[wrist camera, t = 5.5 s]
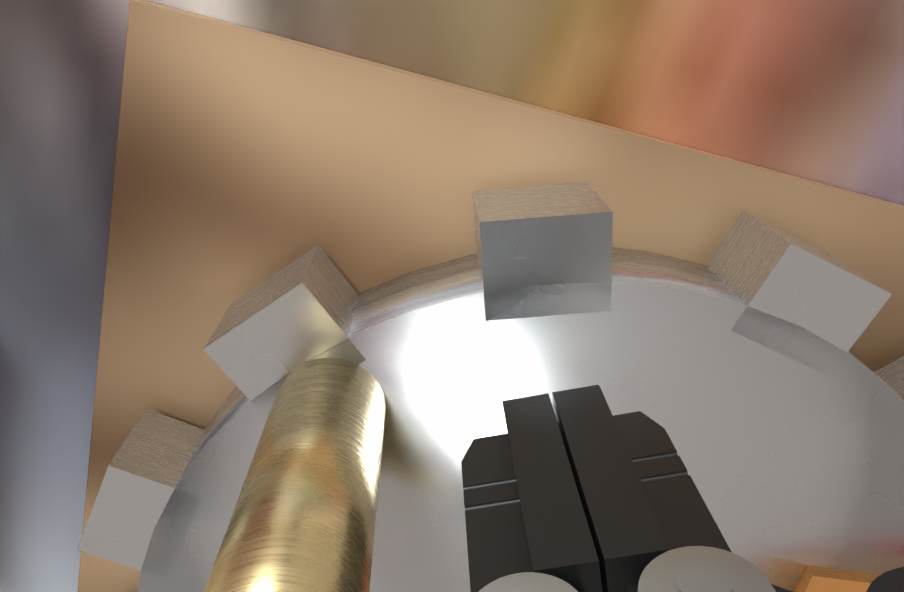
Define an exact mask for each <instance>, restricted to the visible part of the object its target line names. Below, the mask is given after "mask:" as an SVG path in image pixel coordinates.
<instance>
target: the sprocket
mask: <svg viewBox="0 0 904 592" xmlns="http://www.w3.org/2000/svg"><path fill="white" fill-rule="evenodd" d="M472 196H473V212H474V228H475V244H476V254H471V255H468V256H464V257H460V258H457V259H453V260H449V261H445V262H442V263H438V264H434V265H431V266H427V267H423V268H420V269H416V270H413V271H411V272H408V273H406V274H403V275H401V276H398V277H396V278H394V279H391V280H389V281H386V282H384V283H381V284H379V285H377V286H374V287H372V288H369V289H367V290H364V291H362V292H360V293H357V292H356V291H355V290H354V288H353V287H352V286H351V285H350V283H349V282H348V281H347V280H346V278H345V277H344V276H343V275H342V273H341V272H340V271H339V270H338V268H337V267H336V266H335V265H334V263H333V262H332V261H331V260H330V258H329V257H328V256H327V255H326V253H325V252H324V251H323V250H322V248H321V247H320V246H319V245H316V246H315V247H313V248H312V249H310V250H309V251H307V252H306V253H305V254H303V255H302V256H300V257H299V258H297V259H296V260H294V261H293V262H291V263H290V264H288V265H287V266H286V267H284V268H283V269H281V270H280V271H278V272H277V273H275V274H274V275H272V276H271V277H269V278H268V279H266V280H265V281H264V282H262V283H261V284H259V285H258V286H256V287H255V288H253V289H252V290H250V291H249V292H247V293H246V294H245V295H243V296H242V297H240V298H239V299H237V300H236V301H234V302H233V303H231V305H230V306H229V308H228V310H227V311H226V313H225V314H224V316H223V318H222V319H221V321H220V323H219V324H218V326H217V327H216V329H215V331H214V332H213V334H212V336H211V337H210V339H209V340H208V342H207V344H206V345H205V347H204V349H203V350H204V351H205V352H206V353H207V354H208V355H209V357H210V358H211V359H212V360H213V361H214V362H215V363H216V364H217V365H218V366H219V367H220V368H221V369H222V371H223V372H224V373H225V374H226V375H227V376H228V377H229V378H230V379H231V380H232V381H233V382H234V383H235V385H236V386H235V387H234V389H233V390H232V391H231V393H230V394H229V395H228V397H227V398H226V400H225V401H224V402H223V404H222V405H221V406H220V408H219V409H218V410H217V412H216V413H215V415H214V416H213V417H212V419H211V420H210V421H209V423H208V424H207V426H206V427H205V429H201V428H199V427H196V426H193V425H190V424H188V423H185V422H182V421H179V420H177V419H174V418H171V417H168V416H166V415H163V414H160V413H157V412H155V411H152V410H149V409H146V410H145V411H144V413H143V414H142V416H141V417H140V419H139V420H138V422H137V423H136V425H135V426H134V428H133V429H132V431H131V432H130V434H129V435H128V437H127V438H126V440H125V441H124V443H123V444H122V446H121V447H120V449H119V450H118V452H117V453H116V455H115V456H114V458H113V459H112V461H111V462H110V464H109V465H108V468H107V471H106V473H105V476H104V479H103V482H102V484H101V487H100V490H99V492H98V495H97V498H96V501H95V503H94V506H93V509H92V512H91V514H90V517H89V520H88V523H87V525H86V528H85V531H84V533H83V536H82V539H81V542H80V544H79V547H78V550H79V551H82V552H85V553H88V554H91V555H95V556H98V557H101V558H104V559H107V560H110V561H113V562H117V563H120V564H123V565H126V566H129V567H132V568H135V569H139V570H141V572H140V578H139V586H138V591H128V592H470V577H469V563H468V549H467V535H466V521H465V507H464V493H463V491H464V489H463V479H462V465H461V461H462V459H463V458H464V456H465V454H466V452H467V450H468V448H469V446H470V444H471V442H472V441H473V439H475V438H482V437H488V436H494V435H500V434H506V433H507V428H506V422H505V416H504V410H503V404H502V401H504V400H510V399H516V398H522V397H528V396H534V395H540V394H546V393H548V394H549V397H550V400H551V393H552V392H557V391H563V390H569V389H575V388H581V387H587V386H593V385H599V386H600V388H601V390H602V392H603V395H604V397H605V399H606V401H607V404H608V406H609V408H610V411H611V413H612V415H619V414H625V413H631V412H637V411H641V412H642V413H644V414H645V415H646V416H648V417H649V418H651V419H652V420H654V421H655V422H656V423H658V424H659V425H661V426H662V427H663V428H665V430H666V432H667V434H668V436H669V437H670V439H671V441H672V443H673V445H674V447H675V448H676V450H677V454H678V456H680V458H681V460H682V461H683V463H684V465H685V467H686V469H687V472H688V475H690V476H691V478H692V480H693V482H694V483H695V485H696V487H697V489H698V491H699V493H700V495H701V496H702V498H703V500H704V502H705V504H706V506H707V507H708V509H709V511H710V513H711V515H712V517H713V519H714V520H715V522H716V524H717V526H718V528H719V530H720V531H721V533H722V535H723V537H724V539H725V541H726V542H727V544H728V546H729V548H730V550H731V551H732V553H734V554H736V555H738V556H741V557H743V558H744V559H746V560H747V561H749V562H750V563H752V564H753V565H754V566H756V567H757V568H758V569H759V570H760V571H761V572H762V573H763V574H764V576H765V577H766V578H767V579H768V581H769V582H770V583H771V584H773V585H776V586H778V587H781V588H784V589H786V590H790V591H794V592H866V591H867V589H868V587H869V586H870V584H871V583H872V582H873V581H874V580H875V579H876V578H877V577H878V576H880V575H881V574H883V573H885V572H887V571H890V570H892V569H895V568H900V567H904V356H903V357H901V358H899V359H897V360H896V361H894V362H892V363H890V364H888V365H886V366H884V367H883V368H881V369H879V370H877V371H875V372H873V371H871V370H870V369H869V368H868V367H867V366H866V365H864V364H863V363H862V362H861V361H860V360H859V359H857V358H856V357H855V356H854V355H853V354H852V353H850V352H849V350H850V348H851V347H852V346H853V344H854V343H855V342H856V341H857V339H858V338H859V337H860V335H861V334H862V333H863V331H864V330H865V329H866V328H867V326H868V325H869V324H870V322H871V321H872V320H873V318H874V317H875V316H876V314H877V313H878V312H879V311H880V309H881V308H882V307H883V305H884V304H885V303H886V301H887V300H888V299H889V298H890V296H891V295H892V294H891V293H889V292H888V291H886V290H885V289H883V288H882V287H880V286H879V285H877V284H875V283H874V282H872V281H871V280H869V279H868V278H866V277H865V276H863V275H862V274H860V273H859V272H857V271H856V270H854V269H852V268H851V267H849V266H848V265H846V264H845V263H843V262H842V261H840V260H839V259H837V258H836V257H834V256H832V255H830V254H828V253H826V252H824V251H823V250H821V249H819V248H817V247H815V246H813V245H811V244H809V243H807V242H805V241H803V240H801V239H799V238H797V237H795V236H793V235H791V234H789V233H787V232H785V231H783V230H781V229H779V228H777V227H775V226H773V225H771V224H769V223H767V222H765V221H763V220H761V219H759V218H757V217H755V216H753V215H751V214H749V213H747V212H745V211H742V213H741V214H740V216H739V217H738V219H737V220H736V222H735V223H734V225H733V227H732V228H731V230H730V231H729V233H728V234H727V236H726V237H725V239H724V240H723V242H722V243H721V245H720V246H719V248H718V249H717V251H716V253H715V254H714V256H713V257H712V259H711V260H710V262H709V263H708V265H707V266H706V265H704V264H700V263H696V262H692V261H688V260H683V259H679V258H675V257H671V256H667V255H663V254H659V253H655V252H651V251H644V250H634V249H625V248H616V247H612V226H613V211H612V210H611V209H610V208H609V206H608V205H607V204H606V203H605V202H604V201H603V199H602V198H601V197H600V196H599V195H598V194H597V192H596V191H595V190H594V189H593V188H592V186H591V185H590V184H589V183H588V182H578V183H566V184H553V185H540V186H528V187H515V188H503V189H490V190H478V191H472ZM551 403H552V400H551Z"/></svg>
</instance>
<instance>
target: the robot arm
mask: <svg viewBox="0 0 904 592" xmlns="http://www.w3.org/2000/svg"><path fill="white" fill-rule="evenodd" d="M551 400H552V403H551ZM551 400H550V397H549V394H548V393H546V394H540V395H534V396H528V397H522V398H516V399H510V400H504V401H502V404H503V410H504V416H505V422H506V428H507V433H506V434H500V435H494V436H488V437H482V438H475V439H473V441H472V442H471V444H470V446H469V448H468V450H467V452H466V454H465V456H464V458H463V459H462V461H461V465H462V479H463V489H464V491H463V493H464V507H465V521H466V535H467V549H468V563H469V577H470V592H794V591H790V590H786V589H784V588H781V587H778V586H776V585H773V584H771V583H770V582H769V581H768V579H767V578H766V577H765V576H764V574H763V573H762V572H761V571H760V570H759V569H758V568H757V567H756V566H754V565H753V564H752V563H750V562H749V561H747V560H746V559H744V558H743V557H741V556H738V555H736V554H734V553H732V551H731V550H730V548H729V546H728V544H727V542H726V541H725V539H724V537H723V535H722V533H721V531H720V530H719V528H718V526H717V524H716V522H715V520H714V519H713V517H712V515H711V513H710V511H709V509H708V507H707V506H706V504H705V502H704V500H703V498H702V496H701V495H700V493H699V491H698V489H697V487H696V485H695V483H694V482H693V480H692V478H691V476H690V475H688V472H687V469H686V467H685V465H684V463H683V461H682V460H681V458H680V456H678V454H677V450H676V448H675V447H674V445H673V443H672V441H671V439H670V437H669V436H668V434H667V432H666V430H665V428H663V427H662V426H661V425H659V424H658V423H656V422H655V421H654V420H652V419H651V418H649V417H648V416H646V415H645V414H644V413H642V412H641V411H637V412H631V413H625V414H619V415H612V413H611V411H610V408H609V406H608V404H607V401H606V399H605V397H604V395H603V392H602V390H601V388H600V386H599V385H593V386H587V387H581V388H575V389H569V390H563V391H557V392H552V393H551ZM866 592H904V567H900V568H895V569H892V570H890V571H887V572H885V573H883V574H881V575H880V576H878V577H877V578H876V579H875V580H874V581H873V582H872V583H871V584H870V586H869V587H868V589H867V591H866Z"/></svg>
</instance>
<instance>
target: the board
mask: <svg viewBox="0 0 904 592" xmlns="http://www.w3.org/2000/svg"><path fill="white" fill-rule="evenodd" d="M578 182H588V183H589V184H590V185H591V186H592V188H593V189H594V190H595V191H596V192H597V194H598V195H599V196H600V197H601V198H602V199H603V201H604V202H605V203H606V204H607V205H608V206H609V208H610V209H611V210H612V211H613V226H612V247H616V248H625V249H634V250H644V251H651V252H655V253H659V254H663V255H667V256H671V257H675V258H679V259H683V260H688V261H692V262H696V263H700V264H704V265H706V266H707V265H708V263H709V262H710V260H711V259H712V257H713V256H714V254H715V253H716V251H717V249H718V248H719V246H720V245H721V243H722V242H723V240H724V239H725V237H726V236H727V234H728V233H729V231H730V230H731V228H732V227H733V225H734V223H735V222H736V220H737V219H738V217H739V216H740V214H741V213H742V211H745V212H747V213H749V214H751V215H753V216H755V217H757V218H759V219H761V220H763V221H765V222H767V223H769V224H771V225H773V226H775V227H777V228H779V229H781V230H783V231H785V232H787V233H789V234H791V235H793V236H795V237H797V238H799V239H801V240H803V241H805V242H807V243H809V244H811V245H813V246H815V247H817V248H819V249H821V250H823V251H824V252H826V253H828V254H830V255H832V256H834V257H836V258H837V259H839V260H840V261H842V262H843V263H845V264H846V265H848V266H849V267H851V268H852V269H854V270H856V271H857V272H859V273H860V274H862V275H863V276H865V277H866V278H868V279H869V280H871V281H872V282H874V283H875V284H877V285H879V286H880V287H882V288H883V289H885V290H886V291H888V292H889V293H891V294H892V295H891V296H890V298H889V299H888V300H887V301H886V303H885V304H884V305H883V307H882V308H881V309H880V311H879V312H878V313H877V314H876V316H875V317H874V318H873V320H872V321H871V322H870V324H869V325H868V326H867V328H866V329H865V330H864V331H863V333H862V334H861V335H860V337H859V338H858V339H857V341H856V342H855V343H854V344H853V346H852V347H851V348H850V350H849V352H850V353H852V354H853V355H854V356H855V357H856V358H857V359H859V360H860V361H861V362H862V363H863V364H864V365H866V366H867V367H868V368H869V369H870V370H871V371H873V372H875V371H877V370H879V369H881V368H883V367H884V366H886V365H888V364H890V363H892V362H894V361H896V360H897V359H899V358H901V357H903V356H904V205H901V204H897V203H893V202H890V201H886V200H882V199H879V198H875V197H871V196H868V195H864V194H860V193H857V192H853V191H849V190H845V189H842V188H838V187H834V186H831V185H827V184H823V183H820V182H816V181H812V180H808V179H805V178H801V177H797V176H794V175H790V174H786V173H783V172H779V171H775V170H772V169H768V168H764V167H760V166H757V165H753V164H749V163H746V162H742V161H738V160H735V159H731V158H727V157H723V156H720V155H716V154H712V153H709V152H705V151H701V150H698V149H694V148H690V147H687V146H683V145H679V144H675V143H672V142H668V141H664V140H661V139H657V138H653V137H650V136H646V135H642V134H638V133H635V132H631V131H627V130H624V129H620V128H616V127H613V126H609V125H605V124H602V123H598V122H594V121H590V120H587V119H583V118H579V117H576V116H572V115H568V114H565V113H561V112H557V111H553V110H550V109H546V108H542V107H539V106H535V105H531V104H528V103H524V102H520V101H517V100H513V99H509V98H505V97H502V96H498V95H494V94H491V93H487V92H483V91H480V90H476V89H472V88H468V87H465V86H461V85H457V84H454V83H450V82H446V81H443V80H439V79H435V78H431V77H428V76H424V75H420V74H417V73H413V72H409V71H406V70H402V69H398V68H395V67H391V66H387V65H383V64H380V63H376V62H372V61H369V60H365V59H361V58H358V57H354V56H350V55H346V54H343V53H339V52H335V51H332V50H328V49H324V48H321V47H317V46H313V45H310V44H306V43H302V42H298V41H295V40H291V39H287V38H284V37H280V36H276V35H273V34H269V33H265V32H261V31H258V30H254V29H250V28H247V27H243V26H239V25H236V24H232V23H228V22H225V21H221V20H217V19H213V18H210V17H206V16H202V15H199V14H195V13H191V12H188V11H184V10H180V9H176V8H173V7H169V6H165V5H162V4H158V3H154V2H151V1H147V0H130V3H129V15H128V26H127V37H126V49H125V60H124V71H123V83H122V94H121V105H120V117H119V128H118V139H117V151H116V162H115V173H114V185H113V196H112V207H111V219H110V230H109V241H108V253H107V264H106V275H105V287H104V298H103V309H102V321H101V332H100V343H99V355H98V366H97V378H96V389H95V400H94V412H93V423H92V434H91V446H90V457H89V468H88V480H87V491H86V502H85V514H84V525H83V533H84V531H85V528H86V525H87V523H88V520H89V517H90V514H91V512H92V509H93V506H94V503H95V501H96V498H97V495H98V492H99V490H100V487H101V484H102V482H103V479H104V476H105V473H106V471H107V468H108V465H109V464H110V462H111V461H112V459H113V458H114V456H115V455H116V453H117V452H118V450H119V449H120V447H121V446H122V444H123V443H124V441H125V440H126V438H127V437H128V435H129V434H130V432H131V431H132V429H133V428H134V426H135V425H136V423H137V422H138V420H139V419H140V417H141V416H142V414H143V413H144V411H145V410H146V409H149V410H152V411H155V412H157V413H160V414H163V415H166V416H168V417H171V418H174V419H177V420H179V421H182V422H185V423H188V424H190V425H193V426H196V427H199V428H201V429H205V427H206V426H207V424H208V423H209V421H210V420H211V419H212V417H213V416H214V415H215V413H216V412H217V410H218V409H219V408H220V406H221V405H222V404H223V402H224V401H225V400H226V398H227V397H228V395H229V394H230V393H231V391H232V390H233V389H234V387H235V386H236V385H235V383H234V382H233V381H232V380H231V379H230V378H229V377H228V376H227V375H226V374H225V373H224V372H223V371H222V369H221V368H220V367H219V366H218V365H217V364H216V363H215V362H214V361H213V360H212V359H211V358H210V357H209V355H208V354H207V353H206V352H205V351H204V350H203V349H204V347H205V345H206V344H207V342H208V340H209V339H210V337H211V336H212V334H213V332H214V331H215V329H216V327H217V326H218V324H219V323H220V321H221V319H222V318H223V316H224V314H225V313H226V311H227V310H228V308H229V306H230V305H231V303H233V302H234V301H236V300H237V299H239V298H240V297H242V296H243V295H245V294H246V293H247V292H249V291H250V290H252V289H253V288H255V287H256V286H258V285H259V284H261V283H262V282H264V281H265V280H266V279H268V278H269V277H271V276H272V275H274V274H275V273H277V272H278V271H280V270H281V269H283V268H284V267H286V266H287V265H288V264H290V263H291V262H293V261H294V260H296V259H297V258H299V257H300V256H302V255H303V254H305V253H306V252H307V251H309V250H310V249H312V248H313V247H315V246H316V245H319V246H320V247H321V248H322V250H323V251H324V252H325V253H326V255H327V256H328V257H329V258H330V260H331V261H332V262H333V263H334V265H335V266H336V267H337V268H338V270H339V271H340V272H341V273H342V275H343V276H344V277H345V278H346V280H347V281H348V282H349V283H350V285H351V286H352V287H353V288H354V290H355V291H356V292H357V293H360V292H362V291H364V290H367V289H369V288H372V287H374V286H377V285H379V284H381V283H384V282H386V281H389V280H391V279H394V278H396V277H398V276H401V275H403V274H406V273H408V272H411V271H413V270H416V269H420V268H423V267H427V266H431V265H434V264H438V263H442V262H445V261H449V260H453V259H457V258H460V257H464V256H468V255H471V254H476V244H475V228H474V212H473V196H472V191H478V190H490V189H503V188H515V187H528V186H540V185H553V184H566V183H578ZM140 572H141V570H139V569H135V568H132V567H129V566H126V565H123V564H120V563H117V562H113V561H110V560H107V559H104V558H101V557H98V556H95V555H91V554H88V553H85V552H82V551H81V559H80V570H79V582H78V592H128V591H138V586H139V578H140Z"/></svg>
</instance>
